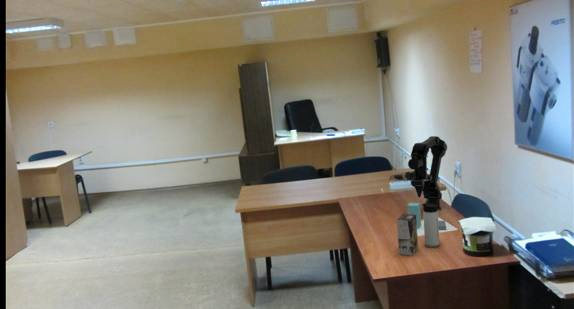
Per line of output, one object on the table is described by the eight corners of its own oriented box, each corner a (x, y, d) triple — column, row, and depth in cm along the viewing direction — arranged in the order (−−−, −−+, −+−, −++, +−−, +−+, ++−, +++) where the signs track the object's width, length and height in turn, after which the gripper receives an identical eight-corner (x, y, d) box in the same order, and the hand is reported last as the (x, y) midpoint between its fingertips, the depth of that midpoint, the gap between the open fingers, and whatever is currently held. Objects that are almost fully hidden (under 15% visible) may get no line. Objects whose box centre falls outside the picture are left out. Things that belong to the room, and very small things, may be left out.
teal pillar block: (411, 224, 238) (410, 202, 236) (421, 225, 235) (420, 203, 233) (408, 228, 234) (407, 205, 232) (418, 229, 231) (417, 206, 229)
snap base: (428, 224, 236) (428, 220, 235) (445, 224, 234) (444, 220, 233) (429, 230, 228) (428, 226, 228) (446, 230, 226) (446, 226, 226)
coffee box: (412, 255, 203) (410, 220, 200) (398, 254, 207) (396, 219, 204) (418, 248, 211) (416, 214, 208) (404, 246, 214) (402, 213, 211)
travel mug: (422, 243, 215) (420, 202, 211) (436, 241, 215) (433, 200, 212) (427, 248, 209) (425, 206, 205) (441, 246, 209) (439, 204, 206)
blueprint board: (439, 218, 245) (439, 217, 245) (458, 231, 225) (458, 229, 225) (397, 225, 242) (397, 223, 242) (413, 238, 222) (413, 236, 222)
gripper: (411, 163, 259) (412, 191, 261) (400, 168, 243) (401, 198, 245) (431, 164, 253) (432, 192, 255) (421, 169, 237) (422, 199, 239)
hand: (421, 195), depth 249 cm, fingers open, 9 cm apart
